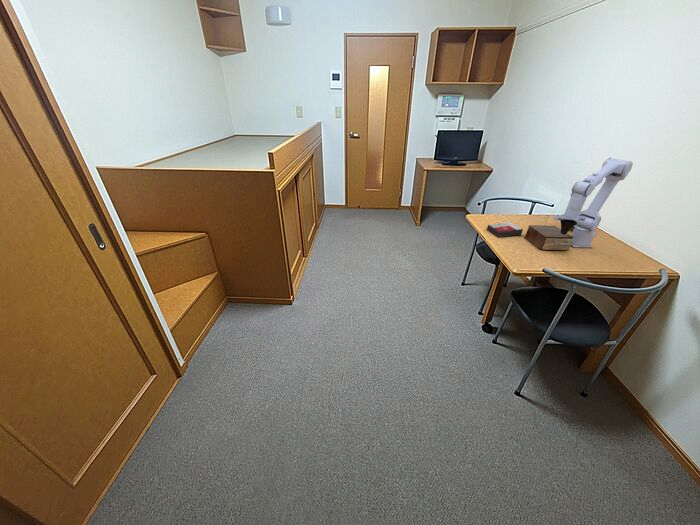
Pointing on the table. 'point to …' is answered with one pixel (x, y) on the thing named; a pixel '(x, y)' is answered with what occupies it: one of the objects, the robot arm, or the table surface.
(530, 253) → the table surface
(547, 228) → the cabinet
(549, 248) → the drawer
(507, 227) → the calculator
